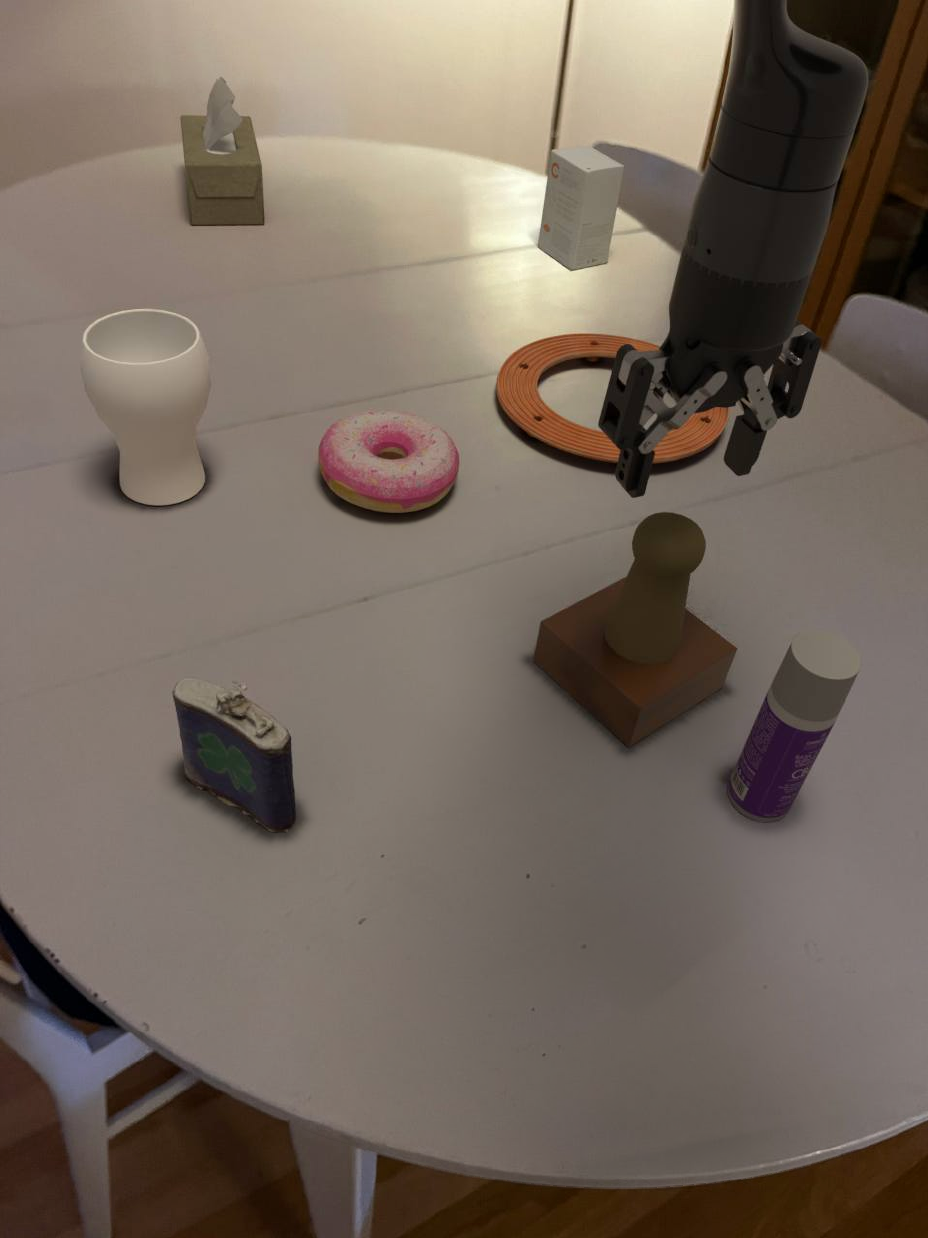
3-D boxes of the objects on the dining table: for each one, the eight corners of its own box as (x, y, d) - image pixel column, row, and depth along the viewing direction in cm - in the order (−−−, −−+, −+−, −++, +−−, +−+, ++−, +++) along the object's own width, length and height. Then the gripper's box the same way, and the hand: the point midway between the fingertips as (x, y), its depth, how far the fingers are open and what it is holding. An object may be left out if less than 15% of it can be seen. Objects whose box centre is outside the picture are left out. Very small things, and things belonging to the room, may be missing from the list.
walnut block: (722, 687, 83) (737, 648, 80) (628, 748, 77) (640, 708, 74) (626, 609, 88) (637, 570, 85) (532, 660, 83) (540, 621, 80)
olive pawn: (690, 661, 78) (729, 551, 70) (615, 666, 77) (645, 555, 69) (666, 607, 82) (700, 498, 75) (595, 611, 81) (621, 501, 74)
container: (777, 833, 73) (850, 692, 62) (717, 801, 74) (778, 658, 64) (799, 790, 76) (872, 649, 65) (740, 760, 77) (803, 617, 67)
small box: (607, 263, 139) (626, 165, 130) (570, 271, 136) (586, 171, 127) (572, 239, 144) (588, 143, 135) (536, 246, 141) (549, 148, 132)
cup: (153, 436, 101) (132, 293, 90) (243, 471, 98) (232, 327, 88) (78, 491, 94) (46, 343, 83) (173, 530, 91) (152, 381, 80)
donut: (461, 527, 95) (466, 483, 91) (316, 523, 93) (315, 479, 90) (452, 444, 104) (456, 402, 101) (321, 440, 103) (320, 397, 99)
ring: (526, 483, 101) (529, 463, 99) (472, 353, 118) (474, 333, 116) (761, 470, 106) (768, 451, 104) (676, 347, 123) (681, 329, 122)
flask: (177, 776, 72) (160, 671, 64) (206, 750, 74) (192, 645, 66) (281, 841, 69) (275, 739, 61) (308, 811, 71) (306, 709, 63)
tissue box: (264, 226, 138) (259, 101, 127) (190, 226, 136) (178, 99, 125) (253, 172, 151) (247, 55, 140) (185, 172, 149) (173, 53, 138)
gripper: (681, 291, 54) (622, 532, 65) (889, 263, 58) (801, 492, 70) (610, 232, 58) (566, 466, 69) (808, 211, 63) (738, 433, 74)
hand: (684, 479), depth 69 cm, fingers open, 8 cm apart
